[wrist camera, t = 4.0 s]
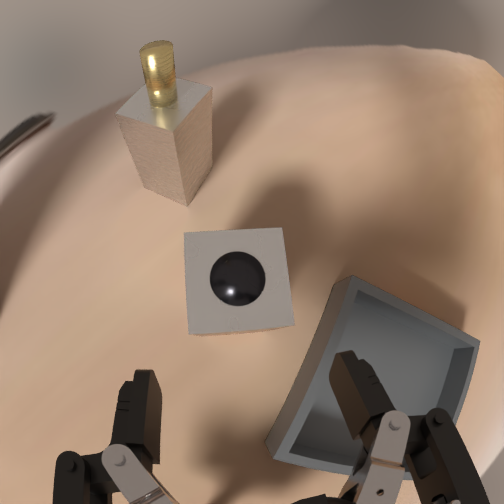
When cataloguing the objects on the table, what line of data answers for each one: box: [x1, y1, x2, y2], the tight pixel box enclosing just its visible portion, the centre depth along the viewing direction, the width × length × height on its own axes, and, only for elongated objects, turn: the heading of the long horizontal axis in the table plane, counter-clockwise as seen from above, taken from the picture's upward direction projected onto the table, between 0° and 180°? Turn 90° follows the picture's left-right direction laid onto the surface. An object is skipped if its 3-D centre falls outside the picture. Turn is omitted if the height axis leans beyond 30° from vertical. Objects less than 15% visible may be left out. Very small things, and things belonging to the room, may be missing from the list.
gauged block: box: [115, 40, 212, 207], centre depth 18 cm, size 4×4×14 cm
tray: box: [265, 275, 480, 480], centre depth 18 cm, size 16×14×4 cm
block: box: [184, 227, 295, 336], centre depth 17 cm, size 4×4×10 cm
